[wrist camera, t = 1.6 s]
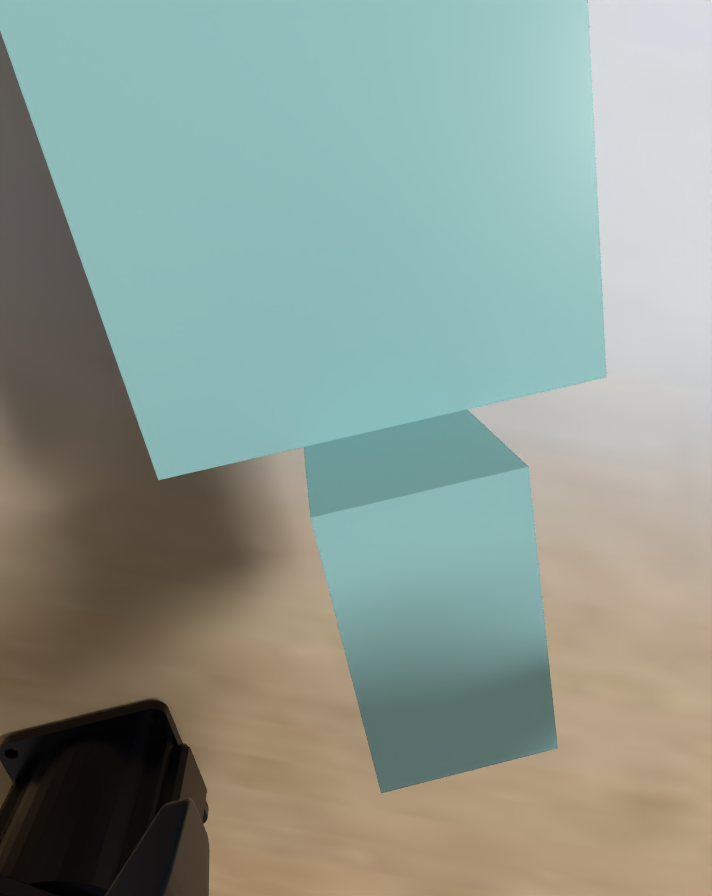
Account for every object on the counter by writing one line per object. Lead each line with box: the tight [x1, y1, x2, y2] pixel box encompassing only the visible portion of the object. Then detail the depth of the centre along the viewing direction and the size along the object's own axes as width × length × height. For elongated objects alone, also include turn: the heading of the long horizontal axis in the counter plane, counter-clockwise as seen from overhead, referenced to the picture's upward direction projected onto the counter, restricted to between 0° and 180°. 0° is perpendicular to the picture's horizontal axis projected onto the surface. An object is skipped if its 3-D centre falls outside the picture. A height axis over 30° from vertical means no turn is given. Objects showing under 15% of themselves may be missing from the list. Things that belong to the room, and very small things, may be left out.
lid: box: [0, 0, 606, 793], centre depth 10 cm, size 10×21×5 cm, turn 12°
